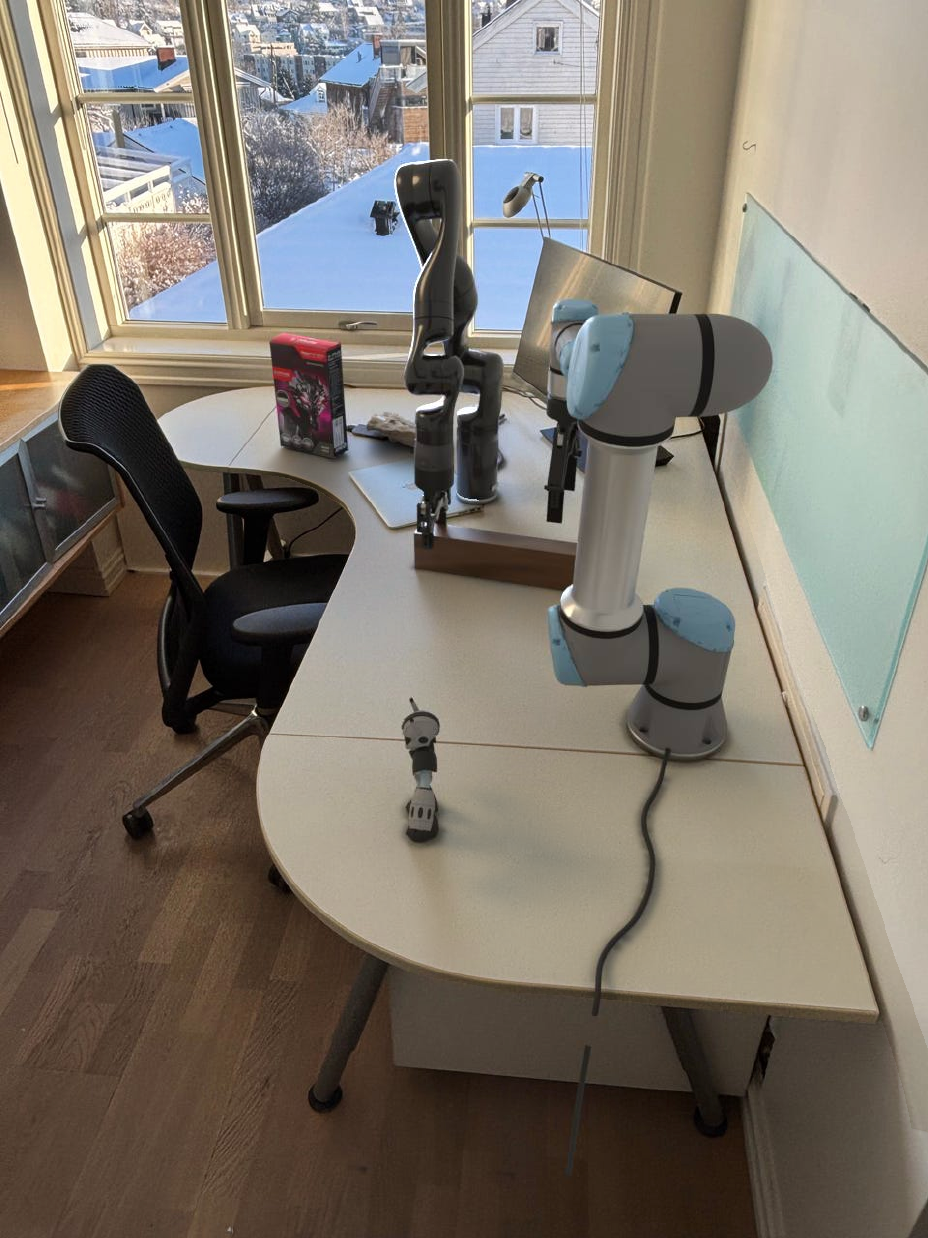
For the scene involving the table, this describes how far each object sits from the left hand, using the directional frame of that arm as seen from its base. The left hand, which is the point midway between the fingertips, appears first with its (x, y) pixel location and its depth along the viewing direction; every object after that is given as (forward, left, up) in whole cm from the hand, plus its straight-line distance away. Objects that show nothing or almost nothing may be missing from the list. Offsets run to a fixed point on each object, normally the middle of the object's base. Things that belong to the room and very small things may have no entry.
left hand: (434, 538), depth 181 cm
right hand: (+5, +24, +10) cm, 27 cm away
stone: (-61, -13, -6) cm, 63 cm away
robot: (+69, +4, -6) cm, 70 cm away
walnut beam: (+2, +12, -6) cm, 14 cm away
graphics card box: (-55, -35, -6) cm, 65 cm away
